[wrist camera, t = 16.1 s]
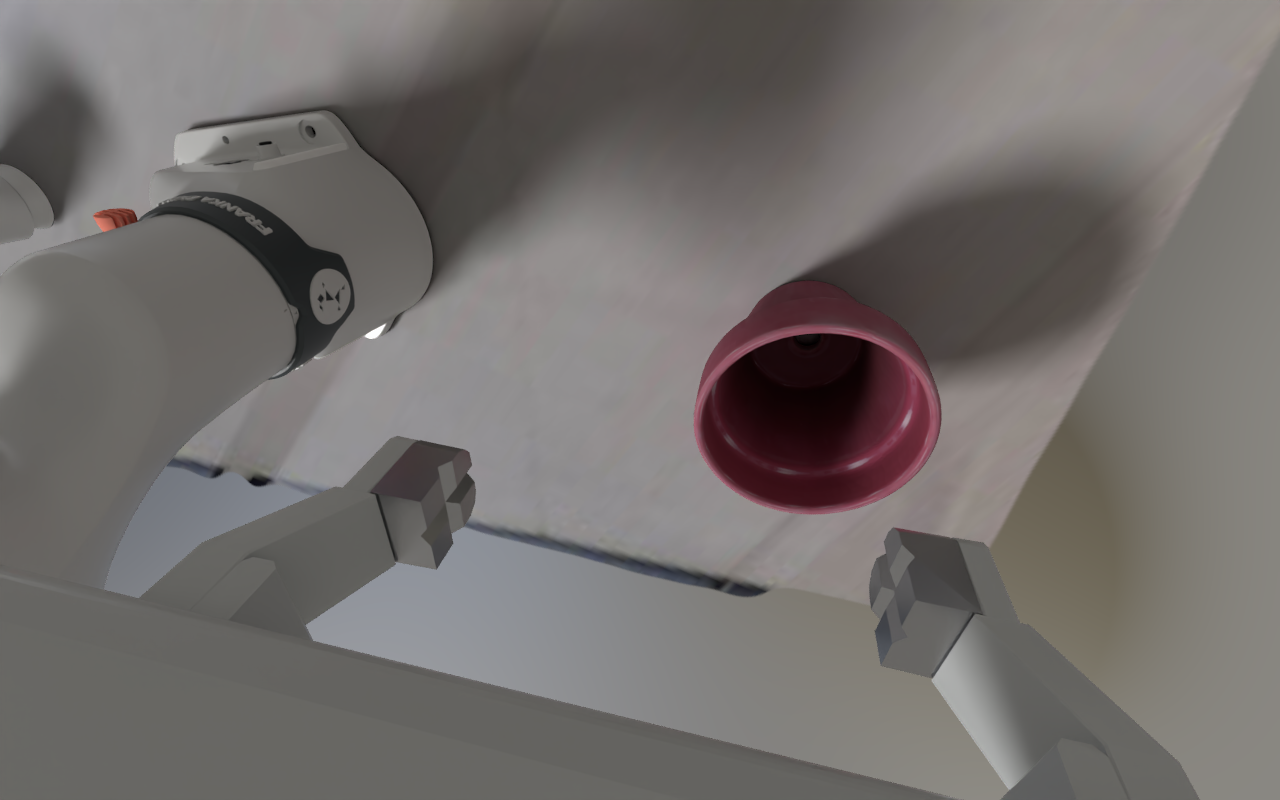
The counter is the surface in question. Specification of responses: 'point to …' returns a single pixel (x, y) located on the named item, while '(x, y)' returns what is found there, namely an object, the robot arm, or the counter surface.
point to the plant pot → (816, 403)
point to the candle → (21, 206)
